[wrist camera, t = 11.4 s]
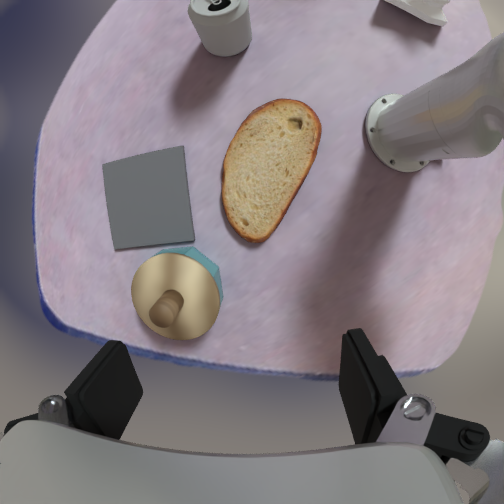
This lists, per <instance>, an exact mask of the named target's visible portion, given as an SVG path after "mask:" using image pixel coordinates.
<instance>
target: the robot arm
mask: <svg viewBox="0 0 504 504" xmlns="http://www.w3.org/2000/svg"><path fill="white" fill-rule="evenodd" d="M382 102H383V103H382ZM365 128H366V135H367V139H368V142H369V144H370V146H371V148H372V150H373V152H374V153H375V155H376V156H377V157H378V158H379V159H380V161H382V162H383V163H384V164H385V165H386V166H388V167H390V168H392V169H393V170H396V171H399V172H414V171H418V170H420V169H422V168H423V167H424V166H426V165H427V164H428V162H429V161H430V160H441V159H458V158H478V157H483V156H486V155H488V154H490V153H491V152H492V151H494V150H495V149H496V147H497V146H498V145H499V143H500V142H501V140H502V138H503V139H504V33H502V34H500V35H498V36H497V37H495V38H494V39H492V40H491V41H490V42H489V43H487V44H486V45H485V46H484V47H483V48H482V49H481V50H479V51H478V52H477V53H476V54H475V55H473V56H472V57H471V58H470V59H468V60H467V61H465V62H464V63H462V64H461V65H459V66H457V67H455V68H454V69H452V70H450V71H449V72H447V73H445V74H443V75H441V76H439V77H437V78H435V79H433V80H432V81H430V82H428V83H426V84H424V85H422V86H420V87H419V88H417V89H415V90H413V91H411V92H409V93H408V94H406V95H400V94H388V95H384V96H382V97H380V98H378V99H377V100H376V101H375V102H374V103H373V104H372V105H371V106H370V108H369V110H368V112H367V116H366V122H365ZM370 130H372V132H370ZM390 161H391V163H390ZM339 391H340V394H341V397H342V401H343V404H344V407H345V411H346V414H347V417H348V421H349V424H350V427H351V431H352V434H353V438H354V441H355V445H349V446H341V447H334V448H326V449H318V450H310V451H299V452H287V453H269V454H222V453H221V454H220V453H203V452H192V451H181V450H173V449H165V448H159V447H152V446H147V445H141V444H136V443H131V442H126V441H122V440H119V439H120V438H121V436H122V434H123V432H124V430H125V427H126V426H127V424H128V422H129V420H130V418H131V416H132V414H133V412H134V411H135V409H136V407H137V405H138V403H139V401H140V399H141V397H142V395H143V389H142V386H141V384H140V381H139V379H138V376H137V374H136V371H135V369H134V366H133V364H132V361H131V358H130V356H129V353H128V350H127V347H126V345H125V344H123V343H122V342H121V341H116V340H109V341H108V342H107V343H106V344H105V345H104V346H103V347H102V349H101V350H100V351H99V352H98V353H97V354H96V355H95V356H94V358H93V359H92V360H91V361H90V362H89V363H88V365H87V366H86V367H85V368H84V369H83V370H82V371H81V373H80V374H79V375H78V376H77V377H76V379H75V380H74V381H73V382H72V383H71V384H70V386H69V387H68V388H67V389H66V390H65V392H64V393H65V394H66V396H67V398H66V399H64V398H63V397H62V396H60V395H51V396H48V397H46V398H45V399H44V400H42V401H41V403H40V405H39V408H38V413H36V414H33V415H30V416H27V417H23V418H20V419H16V420H13V421H10V422H9V423H8V424H7V426H6V428H5V430H4V434H3V433H0V504H464V502H463V500H462V497H461V495H460V493H459V490H458V488H457V486H456V484H455V482H454V481H456V482H458V483H459V484H461V486H460V488H462V489H464V490H465V491H466V492H467V493H468V494H469V498H470V500H469V504H504V443H503V442H502V441H500V440H498V439H496V440H495V441H492V440H490V435H489V432H488V430H487V429H486V428H485V427H484V426H483V425H481V424H478V423H475V422H470V421H466V420H462V419H458V418H454V417H450V416H446V415H443V414H439V413H435V410H436V407H435V404H434V402H433V401H432V399H430V398H429V397H427V396H424V395H422V394H410V395H407V394H406V392H405V390H404V389H403V387H402V385H401V383H400V382H399V380H398V378H397V376H396V375H395V373H394V371H393V370H392V368H391V366H390V365H389V363H388V361H387V360H386V358H385V357H384V356H383V355H381V356H377V354H376V352H375V350H374V349H373V347H372V345H371V344H370V342H369V340H368V338H367V337H366V335H365V333H364V332H363V330H362V329H361V328H358V329H351V330H348V331H347V334H343V336H342V350H341V364H340V375H339Z"/></svg>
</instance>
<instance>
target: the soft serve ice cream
mask: <svg viewBox="0 0 504 504" xmlns="http://www.w3.org/2000/svg"><path fill="white" fill-rule="evenodd" d="M384 1H386V2H389V3H391V4H393V5H395V6H397V7H399V8H401V9H403V10H405V11H407V12H409V13H411V14H413V15H414V16H416V17H418V18H420V19H422V20H423V21H425V22H427V23H431V24H435V25H439V26H444V25H445V24H446V23H447V19H446V17H445V15H444V13H443V11H442V8H443V6H444V5H446V4H448V3H449V2H450V0H384Z"/></svg>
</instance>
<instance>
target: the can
mask: <svg viewBox="0 0 504 504" xmlns="http://www.w3.org/2000/svg"><path fill="white" fill-rule="evenodd" d="M188 14H189V17H190V19H191V21H192V23H193V25H194V27H195V29H196V31H197V33H198V35H199V37H200V39H201V41H202V43H203V45H204V47H205V48H206V50H207V51H208V52H210V53H212V54H214V55H217V56H232V55H235V54H238V53H240V52H242V51H243V50H245V49H246V48H247V47H248V46H249V44H250V42H251V40H252V32H251V23H250V14H249V5H248V0H191V1H190V4H189V7H188Z"/></svg>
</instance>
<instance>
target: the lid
mask: <svg viewBox="0 0 504 504" xmlns="http://www.w3.org/2000/svg"><path fill="white" fill-rule="evenodd" d="M131 295H132V301H133V304H134V307H135V309H136V311H137V313H138V315H139V317H140V318H141V319H142V321H143V322H144V323H145V324H146V325H147V326H148V327H149V328H151V329H152V330H153V331H155V332H156V333H158V334H160V335H162V336H164V337H167V338H170V339H175V340H189V339H194V338H197V337H199V336H201V335H203V334H204V333H206V332H207V331H208V330H209V329H210V328H211V327H212V325H213V324H214V322H215V320H216V318H217V315H218V312H219V308H220V294H219V289H218V286H217V284H216V282H215V280H214V278H213V276H212V275H211V274H210V272H209V271H208V270H207V269H206V268H205V267H204V266H203V265H202V264H201V263H199V262H198V261H196V260H195V259H193V258H191V257H189V256H186V255H184V254H179V253H162V254H158V255H155V256H153V257H151V258H150V259H148V260H147V261H146V262H144V263H143V264H142V265H141V266H140V267H139V268H138V270H137V271H136V273H135V275H134V278H133V281H132V286H131Z"/></svg>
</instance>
